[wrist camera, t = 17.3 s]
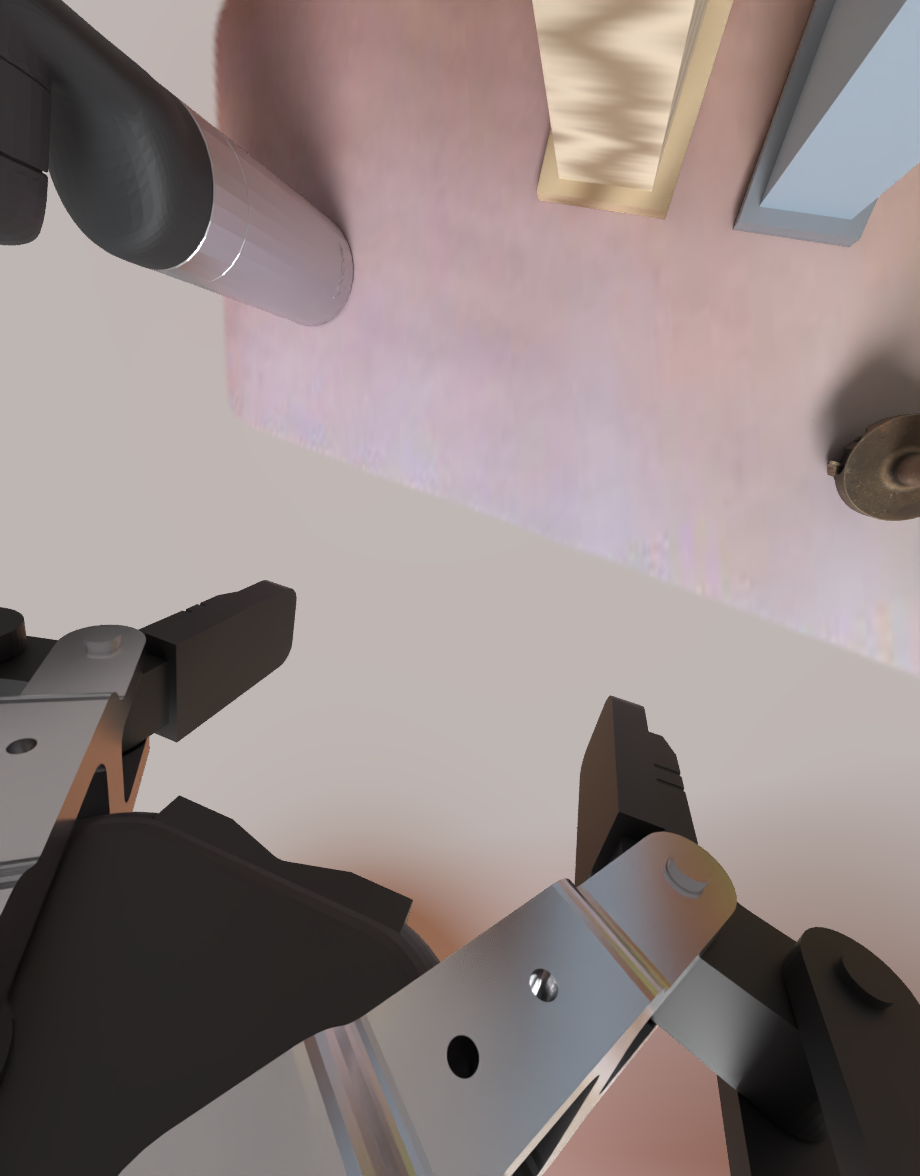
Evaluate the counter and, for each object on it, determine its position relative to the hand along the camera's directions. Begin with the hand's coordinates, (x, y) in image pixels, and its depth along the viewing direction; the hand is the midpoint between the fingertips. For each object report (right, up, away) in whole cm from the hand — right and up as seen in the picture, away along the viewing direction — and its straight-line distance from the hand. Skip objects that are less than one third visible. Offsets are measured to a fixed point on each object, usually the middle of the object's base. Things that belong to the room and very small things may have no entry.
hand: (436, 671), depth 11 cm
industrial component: (+32, +12, +26) cm, 43 cm away
